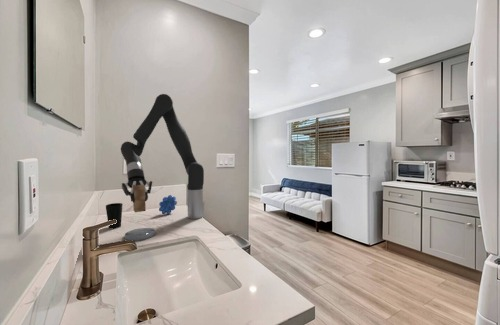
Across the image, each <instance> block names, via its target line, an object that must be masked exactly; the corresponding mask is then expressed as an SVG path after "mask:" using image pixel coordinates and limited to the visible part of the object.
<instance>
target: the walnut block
mask: <svg viewBox="0 0 500 325" xmlns="http://www.w3.org/2000/svg"><path fill="white" fill-rule="evenodd" d="M145 188H146V185H133V191H134V193H133V194H134V198H135V202H134V203H133V202H132V204H133V212H134V213H141V212H146V201H145Z"/></svg>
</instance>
